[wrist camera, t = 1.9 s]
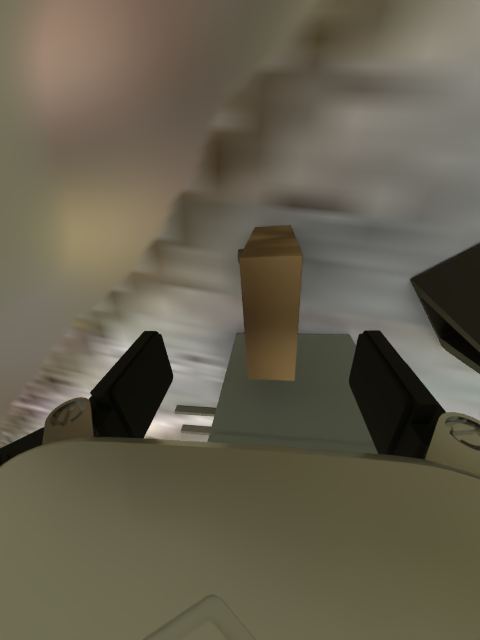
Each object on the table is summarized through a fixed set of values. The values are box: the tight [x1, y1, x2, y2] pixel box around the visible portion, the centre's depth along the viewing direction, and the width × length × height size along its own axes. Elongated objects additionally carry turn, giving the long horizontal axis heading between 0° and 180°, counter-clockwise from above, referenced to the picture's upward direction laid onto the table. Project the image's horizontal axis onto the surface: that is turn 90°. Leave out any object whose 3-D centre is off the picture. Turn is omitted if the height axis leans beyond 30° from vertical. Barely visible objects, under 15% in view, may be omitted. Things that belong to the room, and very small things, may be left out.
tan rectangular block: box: [238, 225, 303, 381], centre depth 17 cm, size 4×8×10 cm, turn 4°
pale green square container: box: [175, 333, 378, 454], centre depth 24 cm, size 22×18×13 cm
